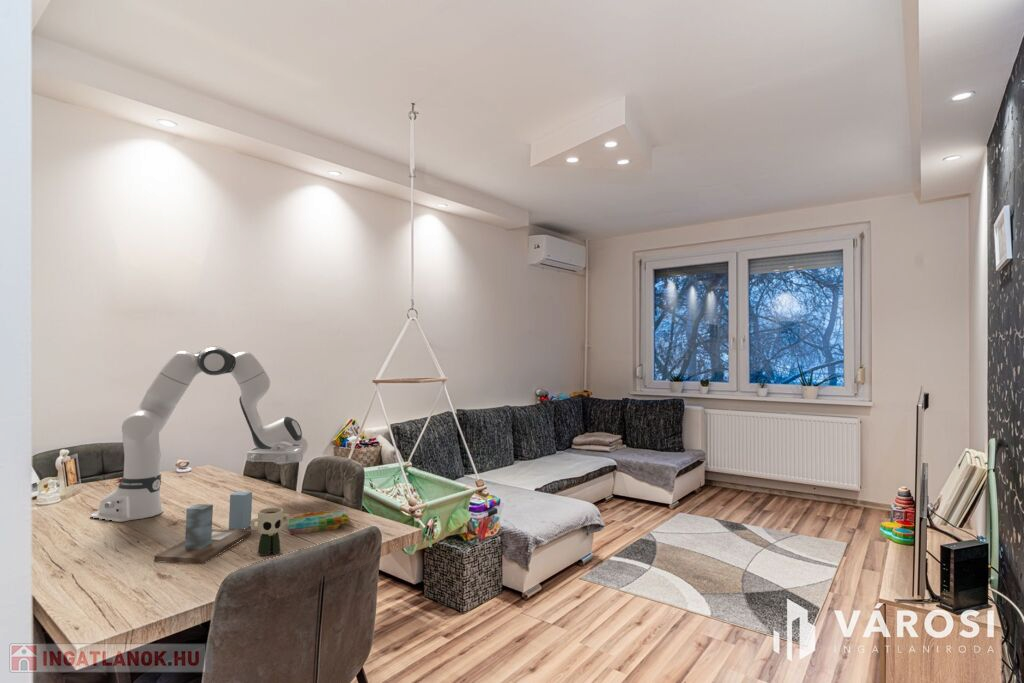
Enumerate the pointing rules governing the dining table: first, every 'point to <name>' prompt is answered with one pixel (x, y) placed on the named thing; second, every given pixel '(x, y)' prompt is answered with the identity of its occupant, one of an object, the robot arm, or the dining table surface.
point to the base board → (204, 552)
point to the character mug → (269, 529)
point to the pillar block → (240, 510)
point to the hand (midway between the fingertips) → (264, 459)
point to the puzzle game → (316, 521)
